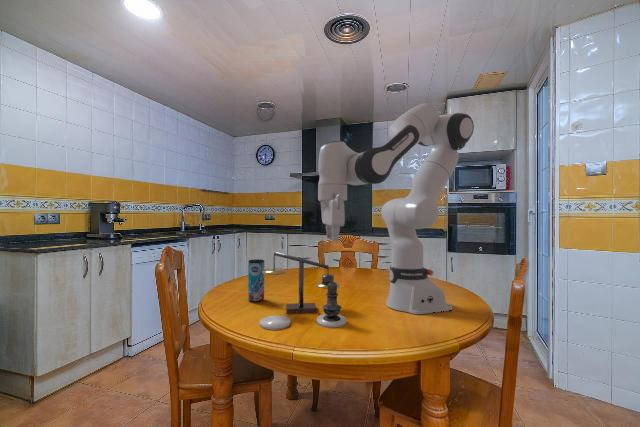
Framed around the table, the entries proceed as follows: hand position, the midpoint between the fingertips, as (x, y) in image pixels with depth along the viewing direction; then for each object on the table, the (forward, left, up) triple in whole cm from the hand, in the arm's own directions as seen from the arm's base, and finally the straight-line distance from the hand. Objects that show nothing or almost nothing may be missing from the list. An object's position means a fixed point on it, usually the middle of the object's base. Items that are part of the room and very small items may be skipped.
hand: (332, 240), depth 94 cm
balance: (+9, -12, -25) cm, 29 cm away
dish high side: (+17, 0, -25) cm, 30 cm away
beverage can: (+25, -25, -25) cm, 43 cm away
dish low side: (0, 0, -25) cm, 25 cm away
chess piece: (0, 0, -24) cm, 24 cm away
